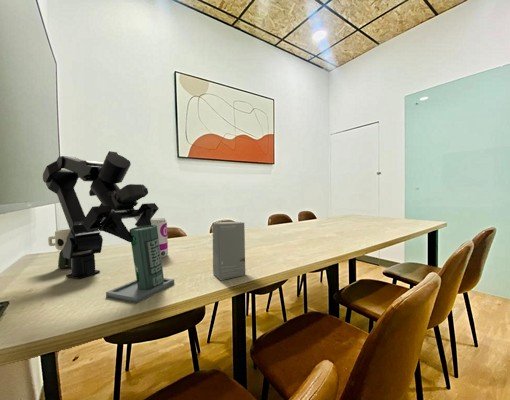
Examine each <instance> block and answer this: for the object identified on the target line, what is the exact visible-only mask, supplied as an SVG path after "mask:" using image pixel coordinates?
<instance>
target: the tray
mask: <svg viewBox="0 0 510 400" xmlns="http://www.w3.org/2000/svg"><path fill="white" fill-rule="evenodd" d="M172 285H175V279H174V278H166V277H164V281H163V283H162V284H160V285H159V286H156V287H155V288H154V287H153V288H150V289H146V290H145V289H139V288H138V286H137V279H134V280H132V281H130V282H128V283H125V284H123V285H120V286H118V287H115V288H113V289H110V290H108V291H106V292H105V298H108V299H114V300H119V301H122V302H123V301H124V302H128V303H132V304H133V303H134V304H138V303H141V302H143V301H144V300H146V299H149V298H150V297H151V296H154V295H156V294H158V293H159V292H161V291H163V290H166V289H168V288H169V287H172Z"/></svg>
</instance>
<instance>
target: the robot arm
mask: <svg viewBox="0 0 510 400" xmlns="http://www.w3.org/2000/svg"><path fill="white" fill-rule="evenodd" d="M130 167H131V161H130V160H129V159H128V158H126V157H124V156H123V155H120V154H118V152H117V151H110V150H109V151H108V153H107V155H106V156H105V157H104V160H103V161H102V162H100V161H92V160H84V159H81V158H80V159H79V158H78V157H77V156H67V155H61V156H58V157H57V159H56V161H53V162H51V163H49V164H48V165H46V166H45V169H44V171H43V174H42V181H43V182H44V183H45V184H46V187H47V189H48V190H50V191H51V192H53V194H56V195H57V199H58V201H59V203H60V206H61V208H62V209H61V210H62V212H63V213H64V214H63V215H64V217H65V221H66V222H67V225H68V229H70V231H69V233H68V236H67V238H66V240H67V241H66V243H65V245H64V248H63V250H62V253H63V257H64V258H68V259H71V267H70V268H71V269H70V270H71V272H70V273H68V274H65V277H67V278H72V279H78V280H79V279H80V280H81V279H83V278H85V277H89V276H92V275H96V274H98V273H101V270H99V269H96V259H95V257H96V256H95V254H101V252H102V249H103V241H104V239H103V236H102V234H101V232H105V233H108V234H110V235H112V236H114V237H117V238H119V239H122V240H124V241H126V242H128V243H131V242H132V241H133V238H132V236H131V234H130V232H129V229H128V228H127V227H126V225H125V224H124V222H123V220H124V219H134V220H135V221H136V222H135V223H134V225H135V227H139V226H145V225H151V220H150V219H153V217H154V216H155V214H156V213H157V212H158V211H159V209H160V208H159V207H158V205H157V204H156V203H155V202H150V203H148V202H147V203H142V204H141V205H140V206H139V208H138V209H136V208H135V207H136V206H137V205H138V203H139V202H138V201H140V199H142V198H145V197H146V196H147V195H148V194H149V189H148V187H146V186H145V185H144V184H141V183H140V184H133V183H130V184H125V186H123V187H121V188H120V187H119V185H118V184H121V183H123V181H124V179H125V177H126V175H127V173H128V171H129V169H130ZM79 179H80V180H82V181H83V182H91V184H90V190H89V192H88V194H89V195H88V196H89V197H94V196H95V197H96V198H97V199H98V200H99V202H100V204H99V205H96V206H92V207H91V208H90V209H89V211H88V213H87V214H86V215H85V212H84V209H83V208H82V204H81V203H80V199H79V197H78V195H77V192H76V189H75V186H76V185H77V182H78V180H79Z"/></svg>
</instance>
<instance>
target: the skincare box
mask: <svg viewBox="0 0 510 400" xmlns="http://www.w3.org/2000/svg"><path fill="white" fill-rule="evenodd" d="M211 226H212V227H211V228H212V274H213V275H214V276H215V277H216V278H217V279H218V280H219V281H224V280H228V279H234V278H238V277H243V276H246V240H245V237H246V235H245V234H246V233H245V230H246V229H245V222H242V221H240V222H239V221H221V222H220V221H217V222H215V221H214V222H212V224H211Z"/></svg>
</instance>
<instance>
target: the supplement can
mask: <svg viewBox="0 0 510 400" xmlns="http://www.w3.org/2000/svg"><path fill="white" fill-rule="evenodd" d="M150 220H151V225H157V231H158V239H159V246H160V254H161V259H163V258H165V257H167V255H168V254H169V248H168V247H169V246H168V245H169V244H168V243H169V242H168V240H169V239H168V222H167V220H166V218H162V217H161V218H160V217H159V218H156V217H155V218H151V219H150Z"/></svg>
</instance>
